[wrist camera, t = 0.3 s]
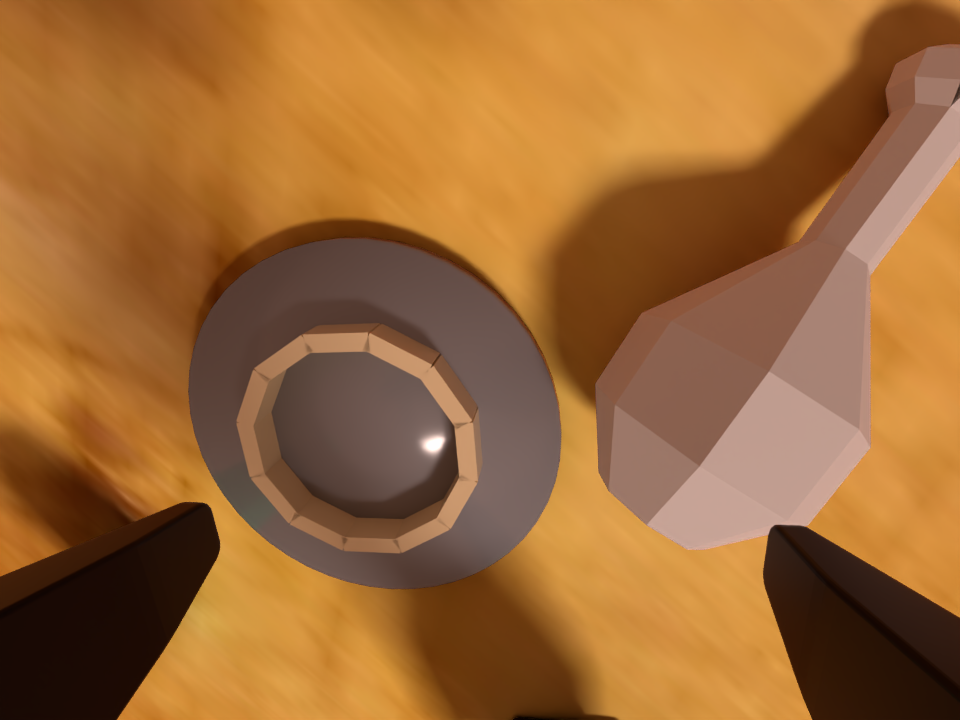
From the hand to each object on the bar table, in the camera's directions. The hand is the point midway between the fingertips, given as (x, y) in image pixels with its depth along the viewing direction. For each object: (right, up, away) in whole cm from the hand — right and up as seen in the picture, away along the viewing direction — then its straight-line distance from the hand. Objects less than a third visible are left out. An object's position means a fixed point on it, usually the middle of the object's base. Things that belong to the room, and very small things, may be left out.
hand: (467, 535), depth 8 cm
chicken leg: (+12, +6, +12) cm, 18 cm away
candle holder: (-5, 0, +16) cm, 17 cm away
